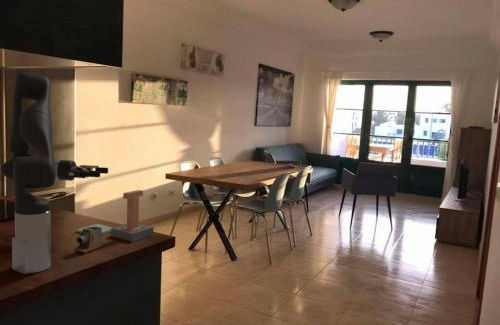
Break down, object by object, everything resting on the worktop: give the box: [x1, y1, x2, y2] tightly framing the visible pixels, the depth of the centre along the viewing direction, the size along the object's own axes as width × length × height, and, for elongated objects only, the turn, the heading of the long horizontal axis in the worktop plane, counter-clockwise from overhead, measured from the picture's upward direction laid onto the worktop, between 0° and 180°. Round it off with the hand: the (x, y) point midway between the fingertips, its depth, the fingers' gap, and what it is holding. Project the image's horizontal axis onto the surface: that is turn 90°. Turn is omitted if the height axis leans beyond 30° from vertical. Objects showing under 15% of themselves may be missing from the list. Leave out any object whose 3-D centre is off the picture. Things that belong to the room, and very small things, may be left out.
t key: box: [122, 189, 144, 231], centre depth 156 cm, size 8×5×17 cm, turn 151°
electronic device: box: [73, 227, 104, 255], centre depth 139 cm, size 4×10×8 cm, turn 161°
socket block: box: [110, 223, 154, 243], centre depth 157 cm, size 11×11×3 cm
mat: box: [76, 223, 113, 236], centre depth 160 cm, size 10×10×1 cm
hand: (104, 172), depth 154 cm, fingers open, 8 cm apart
